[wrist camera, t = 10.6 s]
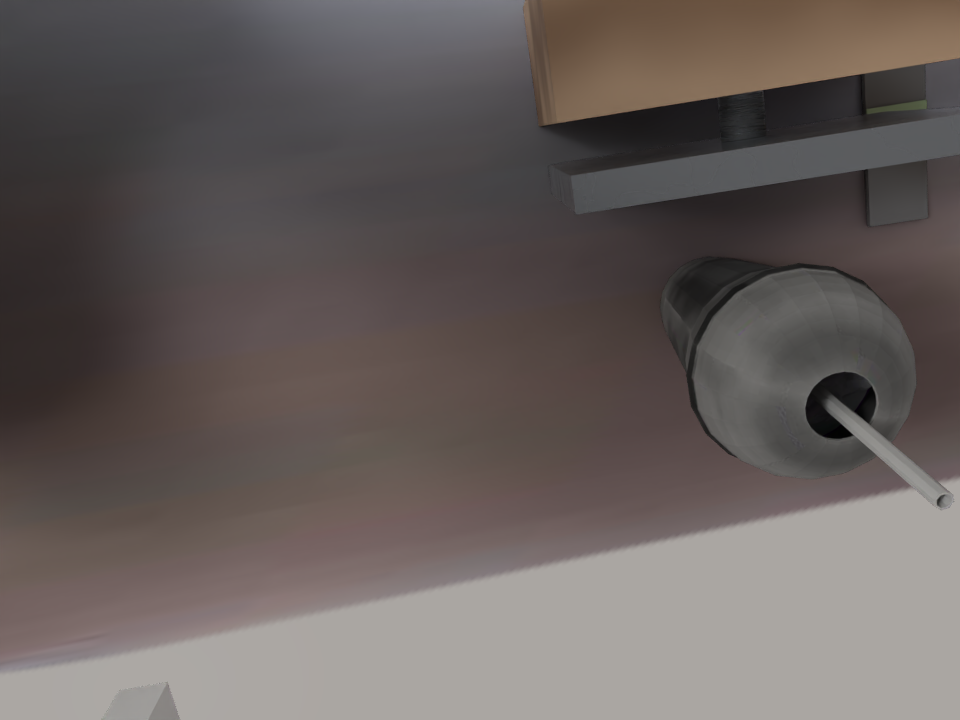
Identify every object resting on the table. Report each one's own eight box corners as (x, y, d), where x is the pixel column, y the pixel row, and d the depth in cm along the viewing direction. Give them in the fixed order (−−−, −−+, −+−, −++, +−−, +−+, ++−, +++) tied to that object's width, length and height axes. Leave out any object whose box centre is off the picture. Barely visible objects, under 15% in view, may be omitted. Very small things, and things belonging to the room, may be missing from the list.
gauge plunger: (926, 134, 35) (1093, 133, 26) (551, 193, 36) (575, 214, 26) (921, -130, 33) (1104, -241, 23) (518, -60, 33) (531, -140, 24)
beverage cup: (727, 193, 38) (973, 254, 19) (816, 315, 40) (1127, 486, 20) (599, 292, 40) (708, 444, 20) (689, 407, 41) (870, 651, 22)
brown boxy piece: (924, 217, 39) (1071, 244, 29) (558, 273, 39) (582, 318, 30) (918, -59, 36) (1081, -132, 26) (523, 7, 36) (536, -39, 27)
